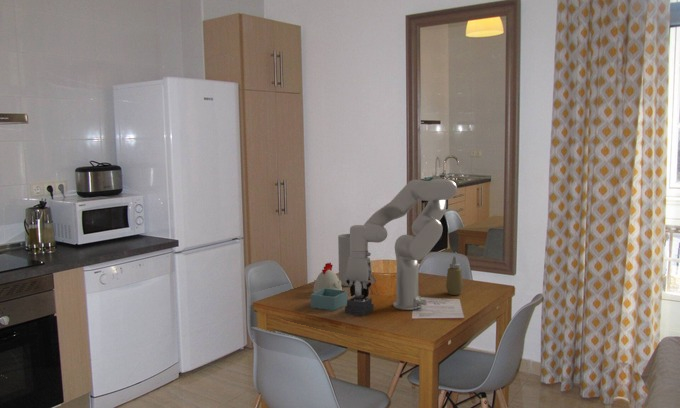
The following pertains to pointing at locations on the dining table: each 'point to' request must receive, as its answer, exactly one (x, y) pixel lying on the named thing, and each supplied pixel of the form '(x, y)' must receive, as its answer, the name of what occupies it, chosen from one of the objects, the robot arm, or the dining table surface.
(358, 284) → the pepper mill
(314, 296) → the bin
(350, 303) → the square recessed block
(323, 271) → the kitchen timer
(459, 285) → the squeeze bottle
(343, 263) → the cylinder vase
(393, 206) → the robot arm
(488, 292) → the dining table surface
